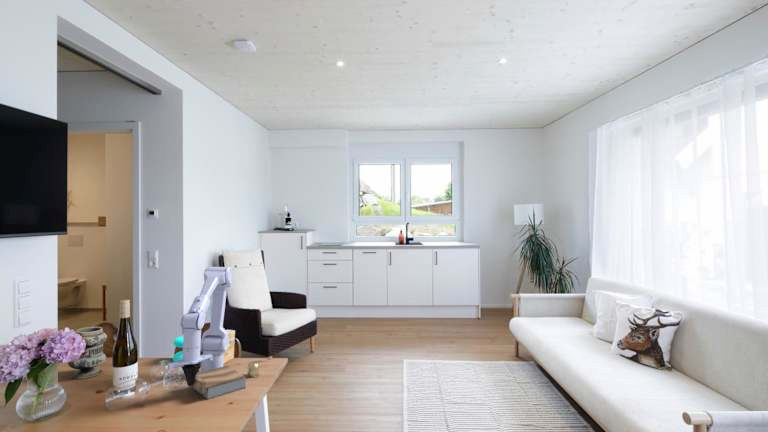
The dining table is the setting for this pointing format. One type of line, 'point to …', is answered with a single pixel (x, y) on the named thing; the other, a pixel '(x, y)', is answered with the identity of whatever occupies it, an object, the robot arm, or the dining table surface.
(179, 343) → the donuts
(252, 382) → the dining table surface
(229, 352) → the supplement box
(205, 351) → the robot arm
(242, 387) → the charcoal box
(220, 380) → the box lid
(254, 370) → the cylinder
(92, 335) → the apothecary jar
